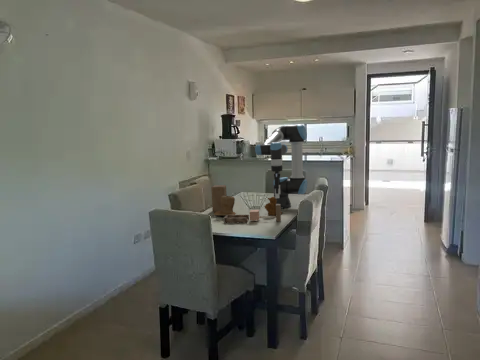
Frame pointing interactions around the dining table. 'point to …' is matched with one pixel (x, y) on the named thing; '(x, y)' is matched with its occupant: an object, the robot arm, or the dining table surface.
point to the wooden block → (217, 196)
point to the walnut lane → (236, 218)
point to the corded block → (255, 216)
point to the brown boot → (226, 206)
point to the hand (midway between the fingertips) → (277, 196)
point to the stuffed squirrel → (271, 206)
